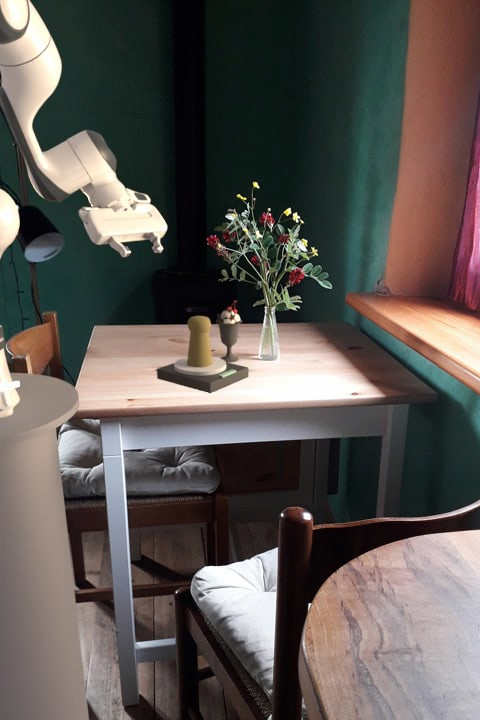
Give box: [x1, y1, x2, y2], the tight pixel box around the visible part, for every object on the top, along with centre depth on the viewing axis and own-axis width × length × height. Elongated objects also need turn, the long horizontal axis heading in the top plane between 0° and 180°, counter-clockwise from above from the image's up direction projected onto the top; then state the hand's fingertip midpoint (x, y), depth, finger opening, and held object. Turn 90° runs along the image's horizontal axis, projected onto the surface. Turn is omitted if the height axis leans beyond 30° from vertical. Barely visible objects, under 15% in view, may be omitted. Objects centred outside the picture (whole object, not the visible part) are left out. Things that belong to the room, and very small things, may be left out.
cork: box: [187, 315, 213, 367], centre depth 141 cm, size 6×6×11 cm
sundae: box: [215, 300, 243, 363], centre depth 155 cm, size 7×7×15 cm
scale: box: [156, 356, 250, 394], centre depth 143 cm, size 14×16×3 cm
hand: (143, 253), depth 140 cm, fingers open, 8 cm apart
